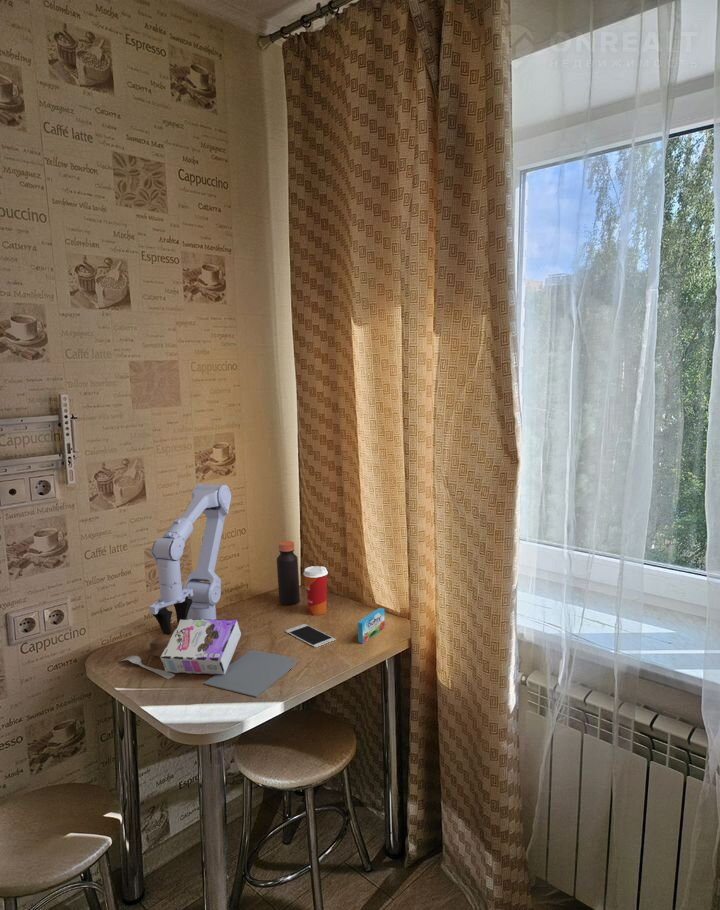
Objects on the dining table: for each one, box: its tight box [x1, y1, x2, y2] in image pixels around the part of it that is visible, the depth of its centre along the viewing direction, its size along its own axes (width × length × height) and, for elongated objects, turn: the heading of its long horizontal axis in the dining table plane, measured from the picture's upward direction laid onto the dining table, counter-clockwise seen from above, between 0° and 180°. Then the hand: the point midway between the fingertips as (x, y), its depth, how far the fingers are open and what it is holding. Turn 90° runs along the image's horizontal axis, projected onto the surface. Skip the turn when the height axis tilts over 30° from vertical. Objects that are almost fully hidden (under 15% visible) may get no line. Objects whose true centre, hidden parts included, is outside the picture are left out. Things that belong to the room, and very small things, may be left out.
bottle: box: [276, 540, 301, 606], centre depth 208 cm, size 7×7×20 cm
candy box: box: [159, 618, 242, 675], centre depth 167 cm, size 14×6×16 cm
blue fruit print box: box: [357, 607, 386, 644], centre depth 181 cm, size 12×2×6 cm, turn 147°
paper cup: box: [302, 565, 329, 616], centre depth 199 cm, size 8×8×14 cm
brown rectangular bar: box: [149, 636, 171, 657], centre depth 174 cm, size 16×4×4 cm, turn 78°
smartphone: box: [284, 623, 337, 647], centre depth 183 cm, size 7×16×1 cm, turn 40°
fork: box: [120, 655, 176, 680], centre depth 167 cm, size 3×21×3 cm, turn 58°
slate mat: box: [202, 649, 301, 698], centre depth 163 cm, size 16×20×1 cm
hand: (174, 629), depth 173 cm, fingers open, 5 cm apart
